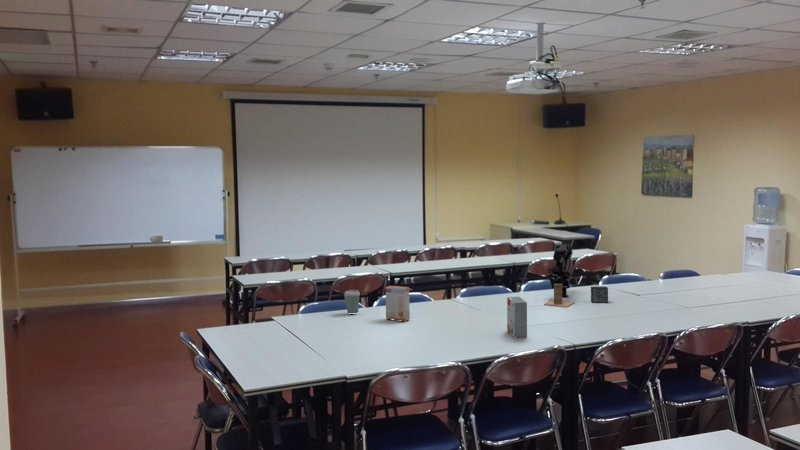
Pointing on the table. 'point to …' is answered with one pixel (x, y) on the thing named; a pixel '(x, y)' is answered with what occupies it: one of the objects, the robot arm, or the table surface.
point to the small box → (599, 294)
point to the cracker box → (397, 303)
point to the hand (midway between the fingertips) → (557, 287)
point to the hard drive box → (517, 316)
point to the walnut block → (557, 293)
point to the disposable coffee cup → (352, 300)
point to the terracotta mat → (564, 304)
